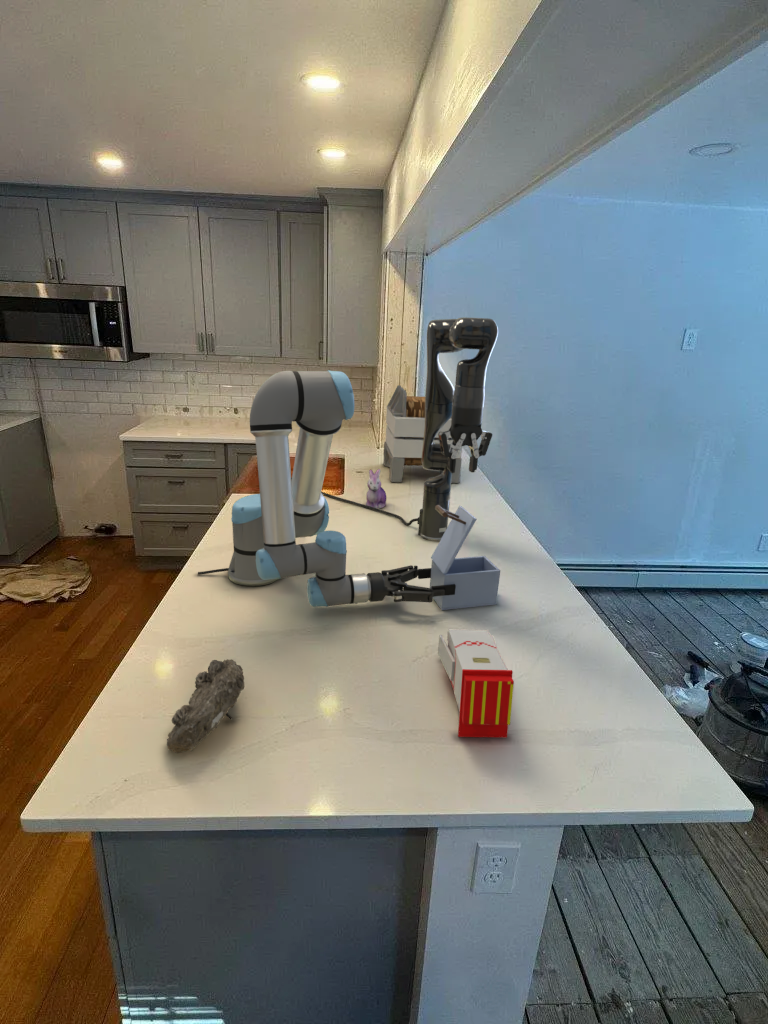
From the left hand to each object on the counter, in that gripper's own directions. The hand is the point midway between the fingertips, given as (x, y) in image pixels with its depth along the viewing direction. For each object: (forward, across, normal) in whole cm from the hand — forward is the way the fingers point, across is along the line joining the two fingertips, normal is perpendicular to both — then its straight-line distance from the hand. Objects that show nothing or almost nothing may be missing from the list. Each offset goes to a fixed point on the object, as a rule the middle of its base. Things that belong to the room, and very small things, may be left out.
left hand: (447, 580), depth 154 cm
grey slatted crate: (+34, -122, -6) cm, 127 cm away
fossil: (-61, +35, -6) cm, 71 cm away
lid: (+1, 0, +12) cm, 12 cm away
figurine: (+1, -79, -6) cm, 79 cm away
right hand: (+1, 0, +31) cm, 31 cm away
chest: (+5, 0, -6) cm, 8 cm away
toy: (-10, +38, -6) cm, 40 cm away
